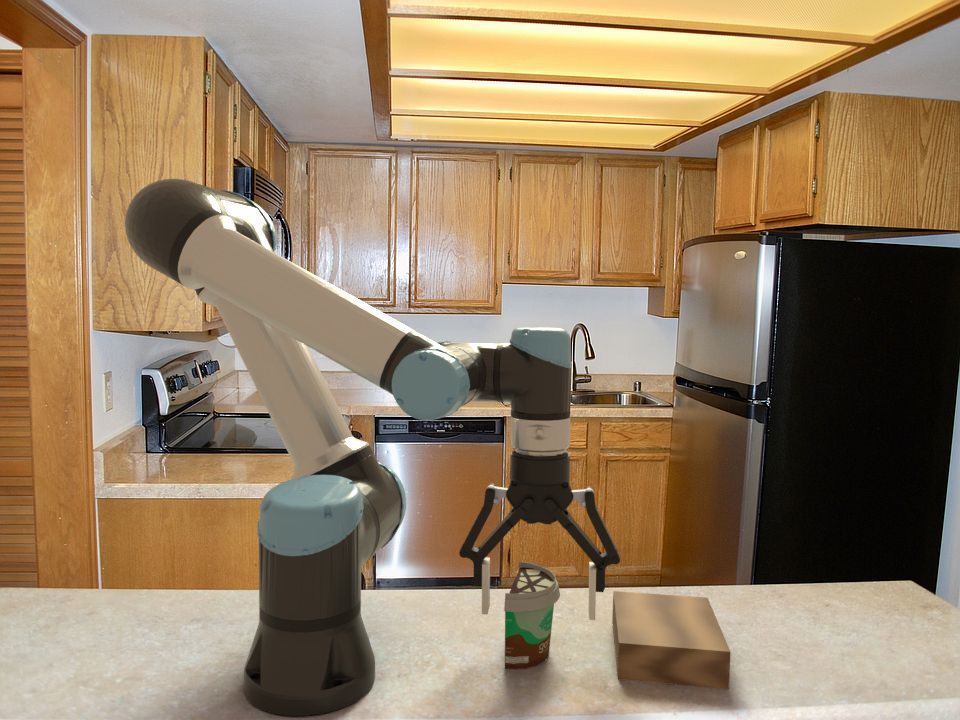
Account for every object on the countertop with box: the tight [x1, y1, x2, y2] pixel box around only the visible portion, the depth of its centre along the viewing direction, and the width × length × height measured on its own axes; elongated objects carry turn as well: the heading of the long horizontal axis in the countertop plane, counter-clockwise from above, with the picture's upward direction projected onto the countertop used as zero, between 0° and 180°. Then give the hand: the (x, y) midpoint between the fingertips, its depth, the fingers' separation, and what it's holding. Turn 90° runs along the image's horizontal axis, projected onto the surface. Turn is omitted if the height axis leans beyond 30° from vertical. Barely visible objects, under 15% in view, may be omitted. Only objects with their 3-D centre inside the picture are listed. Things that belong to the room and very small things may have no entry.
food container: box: [503, 561, 561, 670], centre depth 94 cm, size 12×6×10 cm, turn 168°
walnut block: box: [611, 590, 732, 690], centre depth 96 cm, size 13×16×5 cm
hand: (538, 613), depth 94 cm, fingers open, 13 cm apart
